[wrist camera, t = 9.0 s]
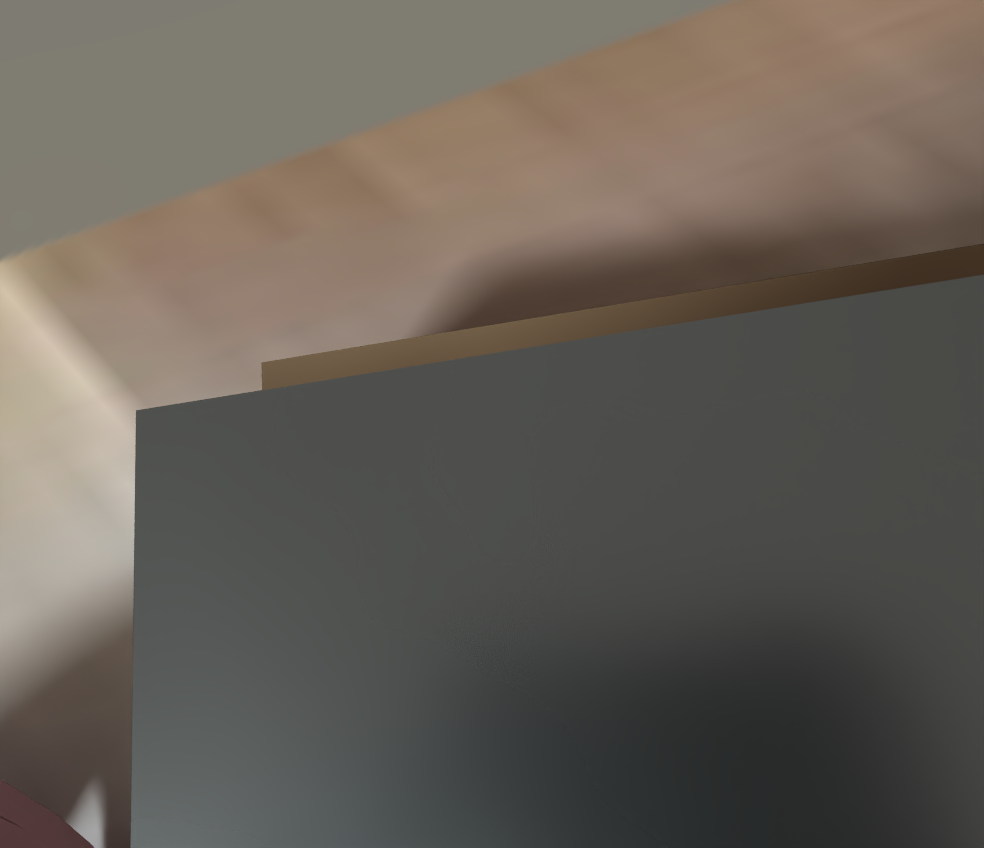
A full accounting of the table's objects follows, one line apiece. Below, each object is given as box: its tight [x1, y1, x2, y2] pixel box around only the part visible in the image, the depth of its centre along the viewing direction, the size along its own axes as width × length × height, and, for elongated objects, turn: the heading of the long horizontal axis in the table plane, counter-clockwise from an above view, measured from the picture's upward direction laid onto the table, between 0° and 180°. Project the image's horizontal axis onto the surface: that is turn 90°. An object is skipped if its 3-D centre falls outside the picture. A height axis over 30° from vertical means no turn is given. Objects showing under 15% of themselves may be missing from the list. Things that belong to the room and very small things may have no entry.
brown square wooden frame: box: [262, 244, 984, 390], centre depth 14 cm, size 12×12×4 cm
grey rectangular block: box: [131, 275, 984, 848], centre depth 9 cm, size 4×4×12 cm
